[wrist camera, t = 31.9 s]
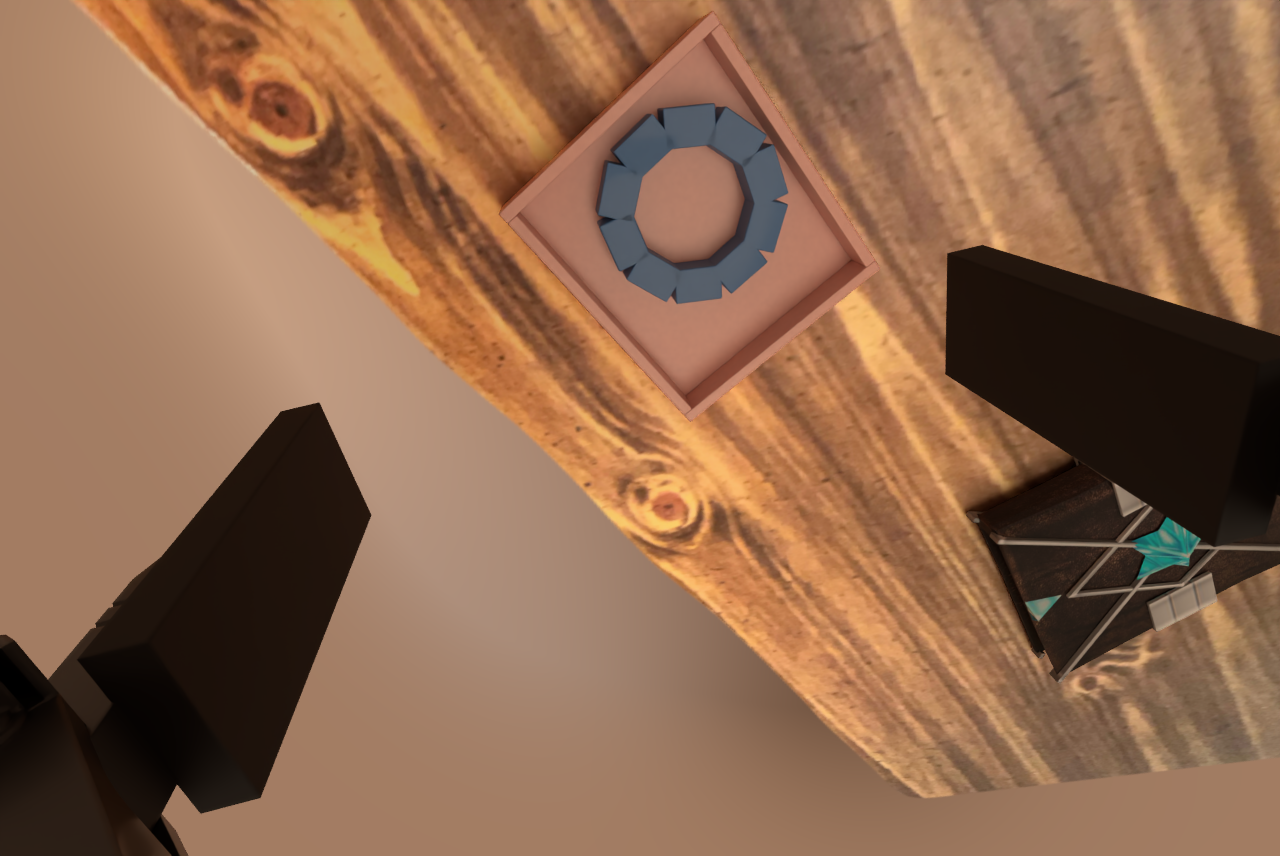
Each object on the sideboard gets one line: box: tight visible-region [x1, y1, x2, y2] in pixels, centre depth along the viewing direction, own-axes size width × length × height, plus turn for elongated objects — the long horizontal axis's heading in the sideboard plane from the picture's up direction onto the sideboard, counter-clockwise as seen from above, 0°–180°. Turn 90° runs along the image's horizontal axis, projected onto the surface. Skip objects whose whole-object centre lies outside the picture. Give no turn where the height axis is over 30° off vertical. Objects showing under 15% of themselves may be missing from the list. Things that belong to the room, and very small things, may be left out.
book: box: [966, 457, 1280, 683], centre depth 47 cm, size 22×17×5 cm
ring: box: [595, 103, 788, 304], centre depth 34 cm, size 9×10×2 cm
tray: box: [499, 11, 880, 422], centre depth 35 cm, size 15×13×2 cm
